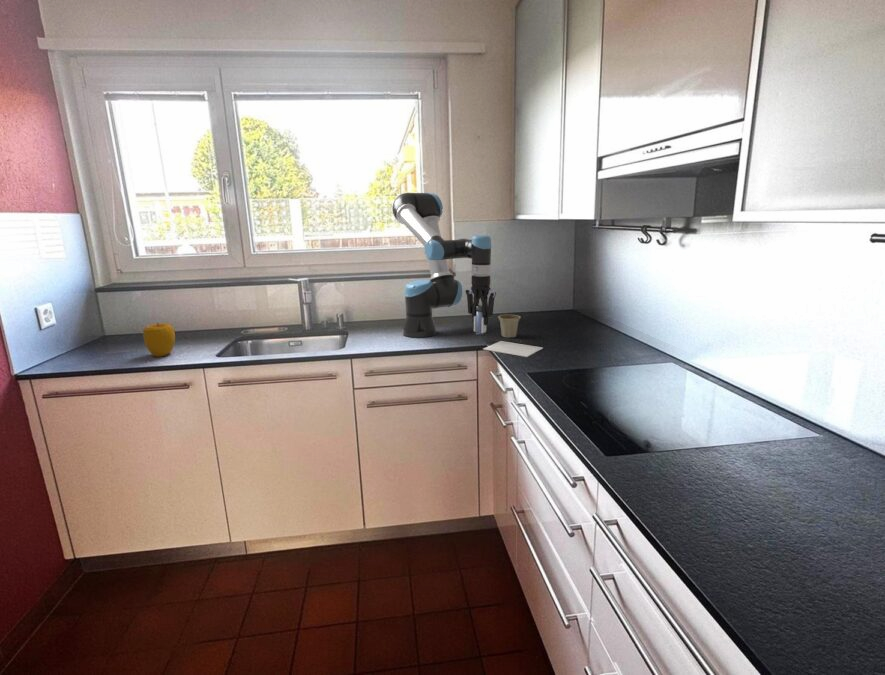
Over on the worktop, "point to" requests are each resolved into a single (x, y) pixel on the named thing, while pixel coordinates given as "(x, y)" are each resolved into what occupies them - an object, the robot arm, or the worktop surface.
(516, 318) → the flower pot
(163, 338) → the apple
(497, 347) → the paper
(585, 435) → the worktop surface
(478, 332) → the cylinder
